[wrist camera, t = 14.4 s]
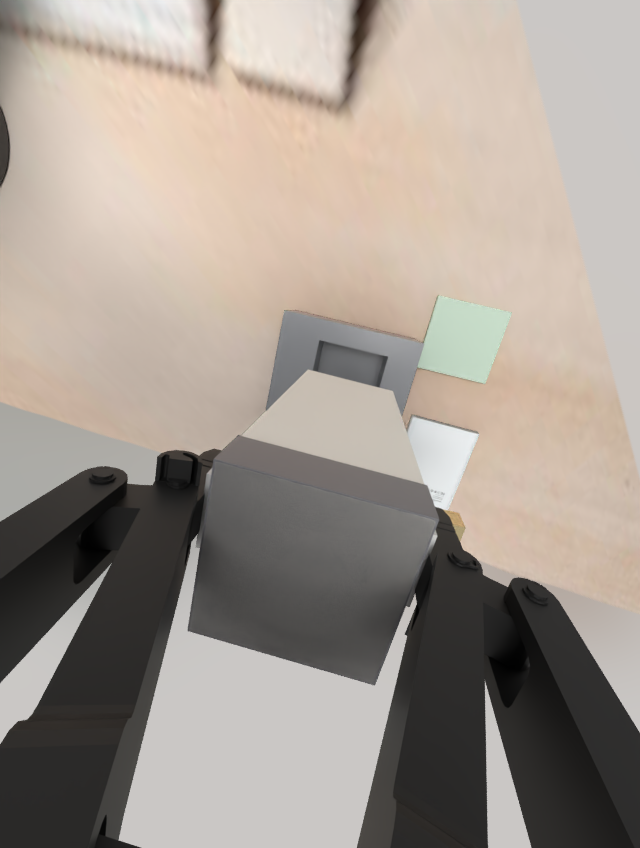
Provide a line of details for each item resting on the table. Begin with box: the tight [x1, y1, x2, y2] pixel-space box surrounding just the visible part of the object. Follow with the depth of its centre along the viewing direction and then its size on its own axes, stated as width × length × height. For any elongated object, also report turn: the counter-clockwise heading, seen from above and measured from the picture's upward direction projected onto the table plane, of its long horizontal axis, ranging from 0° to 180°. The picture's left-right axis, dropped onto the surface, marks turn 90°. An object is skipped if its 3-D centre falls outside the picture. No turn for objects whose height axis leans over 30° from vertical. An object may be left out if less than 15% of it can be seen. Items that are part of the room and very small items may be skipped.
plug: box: [188, 370, 439, 685], centre depth 17 cm, size 6×6×15 cm
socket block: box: [265, 310, 424, 417], centre depth 35 cm, size 14×14×20 cm
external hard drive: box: [406, 414, 479, 510], centre depth 46 cm, size 2×8×12 cm
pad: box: [417, 295, 512, 384], centre depth 41 cm, size 8×8×1 cm
